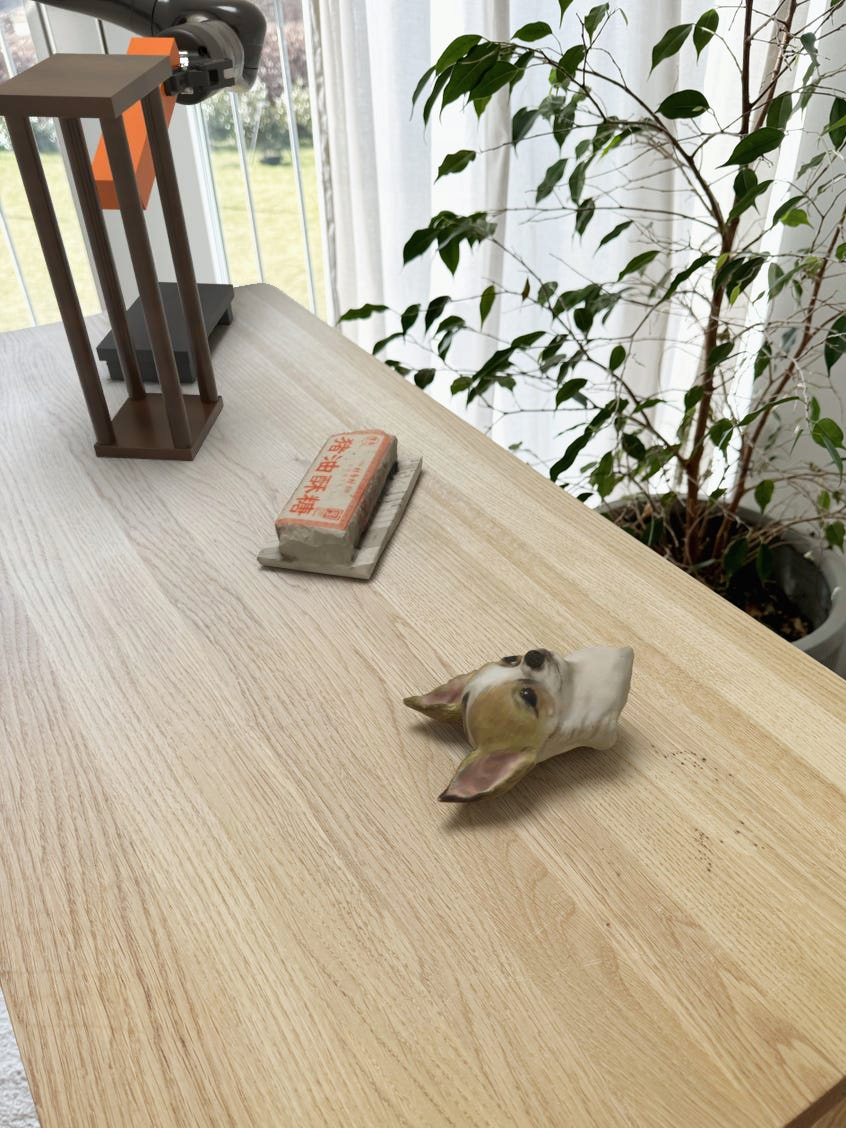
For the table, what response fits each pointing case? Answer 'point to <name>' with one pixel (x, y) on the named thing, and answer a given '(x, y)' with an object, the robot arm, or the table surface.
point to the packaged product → (344, 506)
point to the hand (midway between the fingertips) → (141, 83)
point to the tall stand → (105, 93)
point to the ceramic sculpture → (529, 713)
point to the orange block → (136, 131)
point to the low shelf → (170, 330)
